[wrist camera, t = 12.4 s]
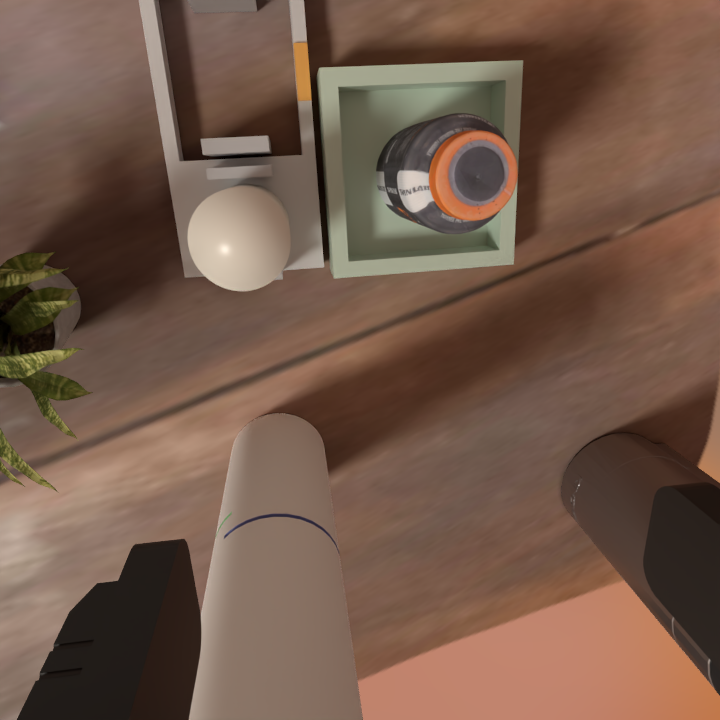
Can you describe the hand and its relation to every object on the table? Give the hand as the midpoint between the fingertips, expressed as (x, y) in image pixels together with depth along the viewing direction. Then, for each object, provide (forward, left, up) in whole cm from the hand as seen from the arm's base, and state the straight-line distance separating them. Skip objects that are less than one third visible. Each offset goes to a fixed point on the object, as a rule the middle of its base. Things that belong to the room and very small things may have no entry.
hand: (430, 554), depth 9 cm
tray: (-7, -6, -30) cm, 31 cm away
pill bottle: (-7, -5, -29) cm, 31 cm away
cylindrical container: (+4, +14, -30) cm, 34 cm away
